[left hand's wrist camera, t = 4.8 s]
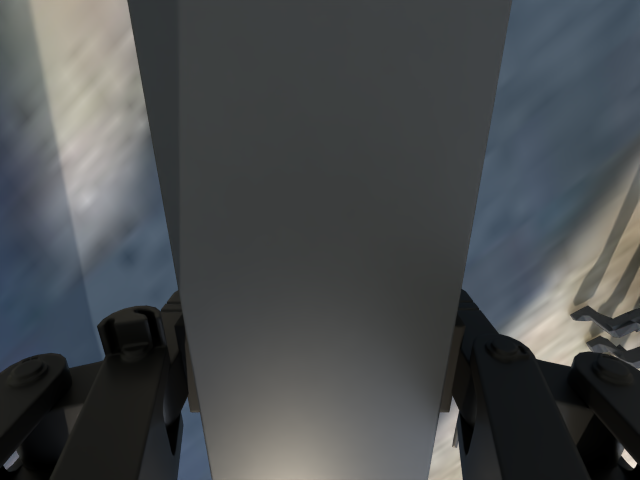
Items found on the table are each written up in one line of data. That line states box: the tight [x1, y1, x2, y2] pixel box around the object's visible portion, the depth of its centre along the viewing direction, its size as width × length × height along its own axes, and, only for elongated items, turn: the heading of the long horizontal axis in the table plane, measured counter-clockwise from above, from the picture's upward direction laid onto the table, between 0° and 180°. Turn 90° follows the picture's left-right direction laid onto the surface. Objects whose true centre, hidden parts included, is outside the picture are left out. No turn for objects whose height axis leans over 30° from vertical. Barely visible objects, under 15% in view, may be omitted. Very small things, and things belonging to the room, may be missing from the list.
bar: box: [127, 0, 512, 480], centre depth 8 cm, size 21×5×8 cm, turn 0°
